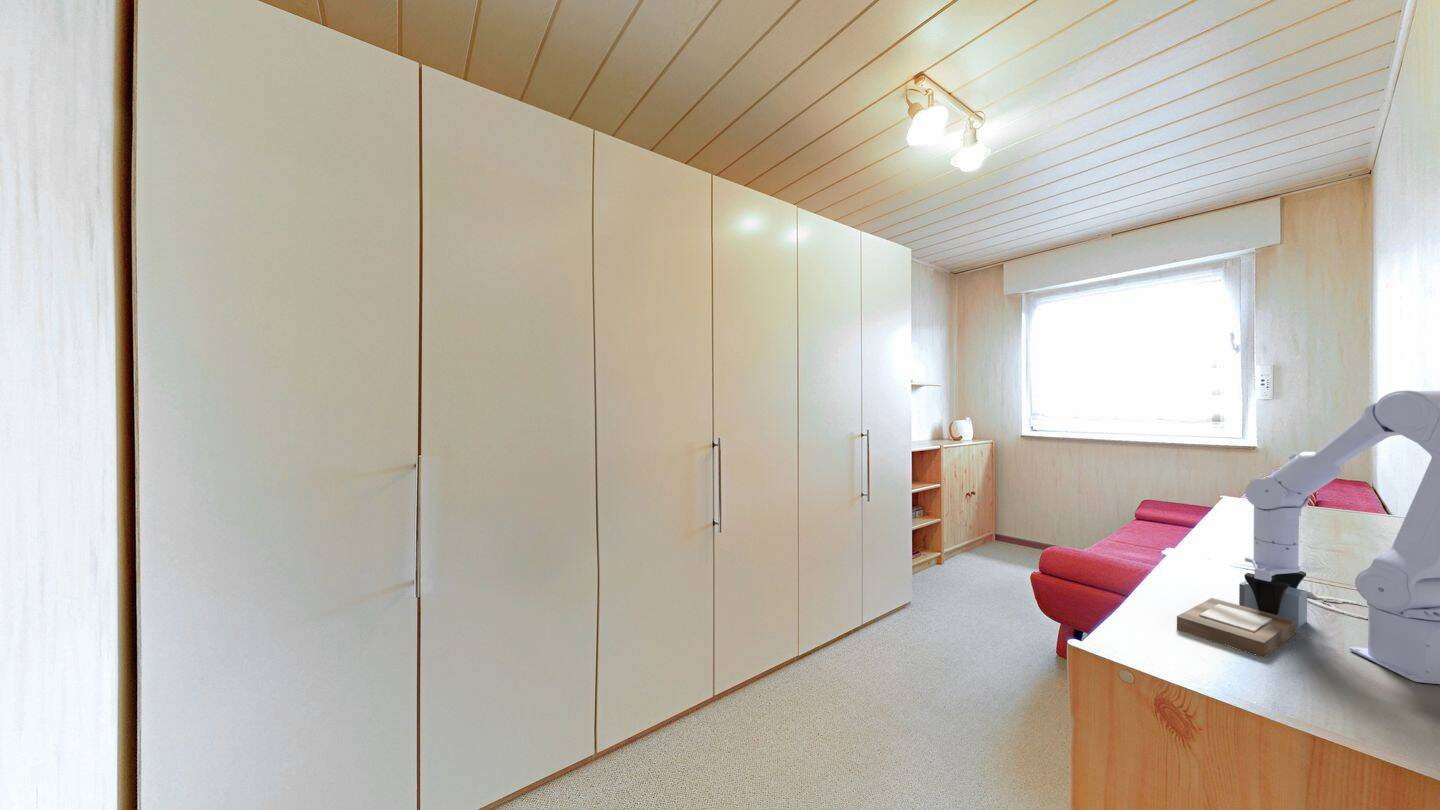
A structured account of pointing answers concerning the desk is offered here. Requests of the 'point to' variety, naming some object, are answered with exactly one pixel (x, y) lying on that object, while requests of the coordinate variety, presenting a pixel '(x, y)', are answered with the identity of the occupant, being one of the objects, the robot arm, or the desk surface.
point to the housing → (1289, 608)
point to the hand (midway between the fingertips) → (1275, 609)
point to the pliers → (1328, 603)
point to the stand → (1237, 626)
